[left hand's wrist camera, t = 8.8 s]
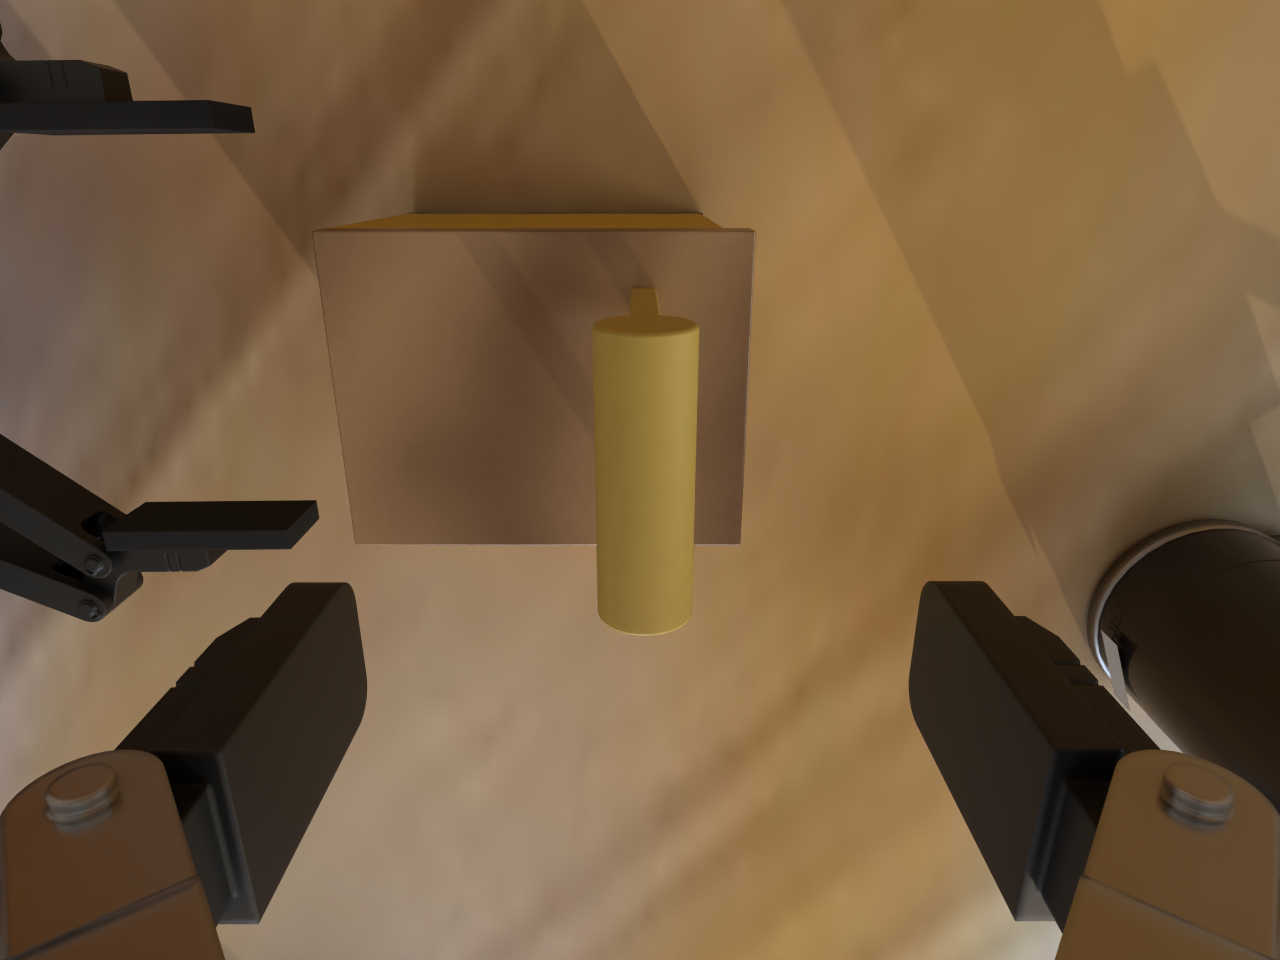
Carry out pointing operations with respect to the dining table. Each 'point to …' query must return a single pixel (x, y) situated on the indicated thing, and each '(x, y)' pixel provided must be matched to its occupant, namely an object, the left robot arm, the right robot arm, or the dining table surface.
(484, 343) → the lid
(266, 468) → the dining table surface
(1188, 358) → the dining table surface
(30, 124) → the right robot arm
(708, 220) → the chest
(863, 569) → the dining table surface
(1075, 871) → the left robot arm
